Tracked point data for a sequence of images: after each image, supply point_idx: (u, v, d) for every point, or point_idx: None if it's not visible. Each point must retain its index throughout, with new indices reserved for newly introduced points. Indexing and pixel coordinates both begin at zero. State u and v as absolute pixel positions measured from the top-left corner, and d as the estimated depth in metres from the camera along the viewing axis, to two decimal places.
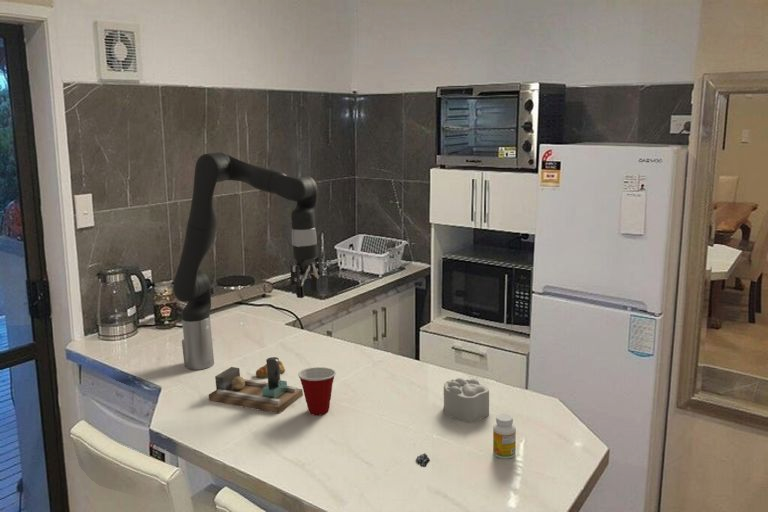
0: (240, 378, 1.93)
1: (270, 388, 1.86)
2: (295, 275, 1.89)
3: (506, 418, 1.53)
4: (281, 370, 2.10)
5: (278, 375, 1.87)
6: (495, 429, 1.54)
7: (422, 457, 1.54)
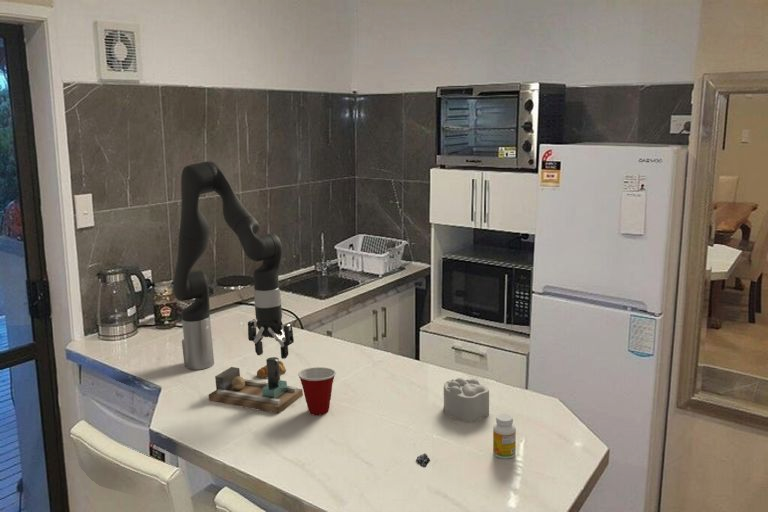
0: (240, 378, 1.93)
1: (270, 388, 1.86)
2: (291, 333, 1.83)
3: (506, 418, 1.53)
4: (282, 370, 2.10)
5: (278, 375, 1.87)
6: (495, 429, 1.54)
7: (422, 457, 1.54)
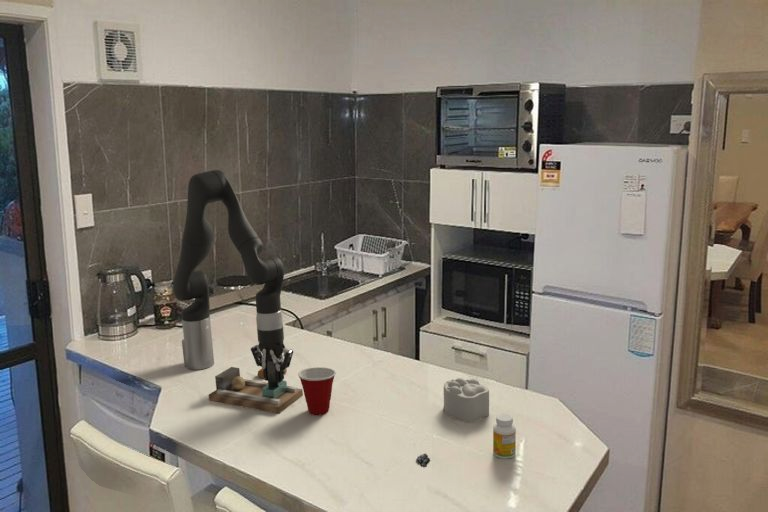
0: (240, 378, 1.93)
1: (270, 388, 1.86)
2: (290, 359, 1.85)
3: (506, 418, 1.53)
4: None
5: None
6: (495, 429, 1.54)
7: (422, 457, 1.54)
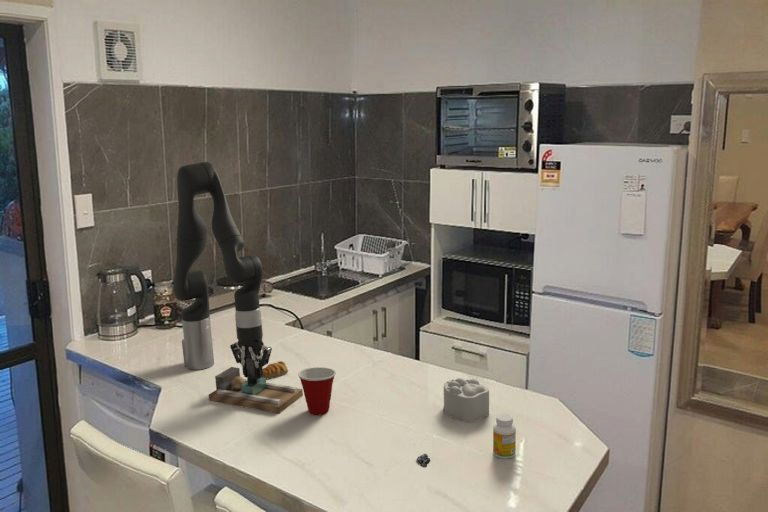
0: (240, 378, 1.93)
1: (249, 385, 1.89)
2: (268, 356, 1.88)
3: (506, 418, 1.53)
4: (284, 370, 2.10)
5: None
6: (495, 429, 1.54)
7: (423, 457, 1.54)
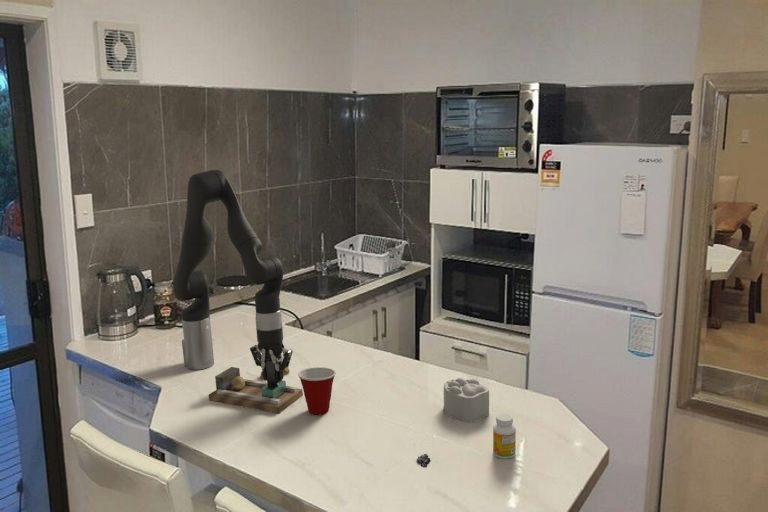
0: (240, 378, 1.93)
1: (269, 388, 1.86)
2: (289, 359, 1.85)
3: (506, 418, 1.53)
4: (286, 371, 2.09)
5: None
6: (495, 429, 1.54)
7: (423, 457, 1.54)
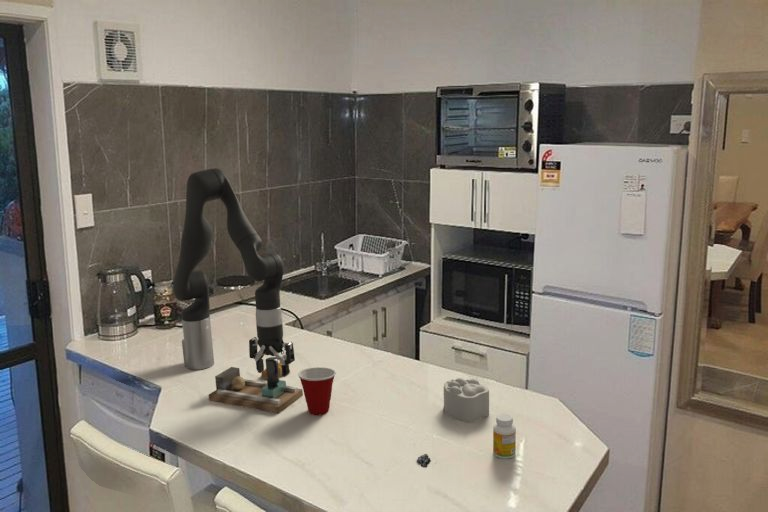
0: (240, 378, 1.93)
1: (269, 388, 1.86)
2: (292, 352, 1.84)
3: (506, 418, 1.53)
4: None
5: (277, 375, 1.87)
6: (495, 429, 1.54)
7: (423, 457, 1.54)
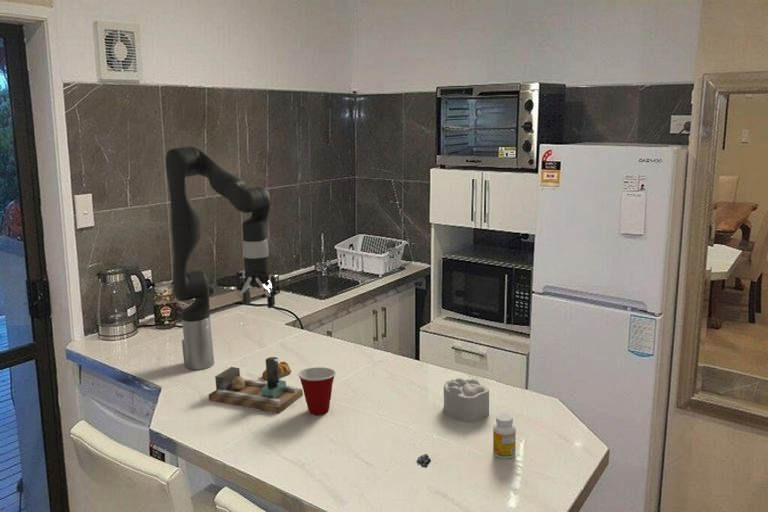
0: (240, 378, 1.93)
1: (269, 388, 1.86)
2: (278, 283, 1.90)
3: (506, 418, 1.53)
4: (287, 371, 2.09)
5: (277, 375, 1.87)
6: (495, 429, 1.54)
7: (423, 458, 1.54)
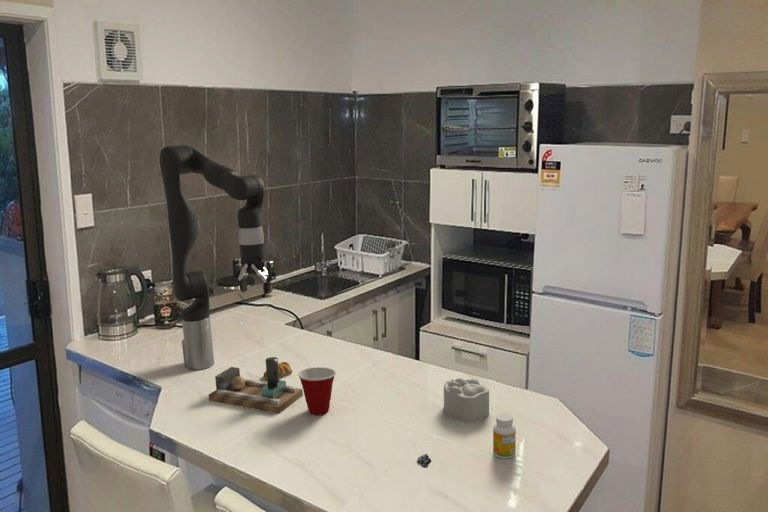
0: (240, 378, 1.93)
1: (269, 388, 1.86)
2: (273, 270, 1.93)
3: (506, 418, 1.53)
4: (289, 371, 2.09)
5: (277, 375, 1.87)
6: (495, 429, 1.54)
7: (423, 458, 1.53)
